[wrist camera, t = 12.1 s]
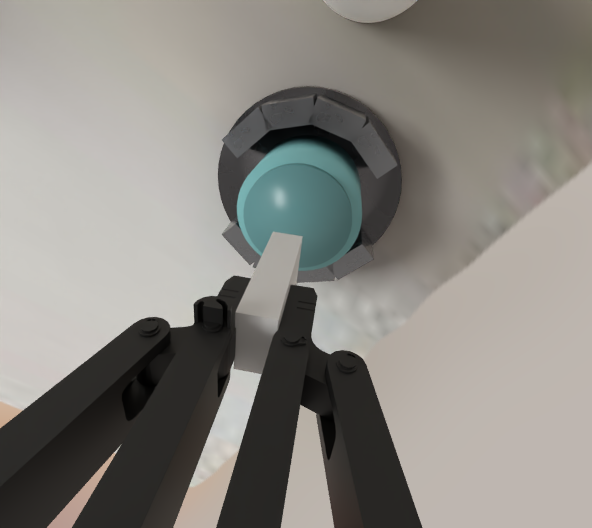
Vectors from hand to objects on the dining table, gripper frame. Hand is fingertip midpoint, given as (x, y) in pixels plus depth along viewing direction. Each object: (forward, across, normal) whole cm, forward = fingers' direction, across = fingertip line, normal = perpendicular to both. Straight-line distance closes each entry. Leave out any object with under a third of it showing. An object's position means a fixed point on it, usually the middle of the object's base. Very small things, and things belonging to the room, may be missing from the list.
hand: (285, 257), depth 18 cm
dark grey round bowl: (+12, 0, 0) cm, 12 cm away
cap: (+11, 0, 0) cm, 11 cm away
